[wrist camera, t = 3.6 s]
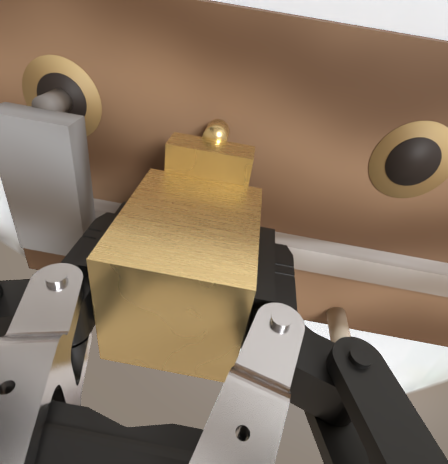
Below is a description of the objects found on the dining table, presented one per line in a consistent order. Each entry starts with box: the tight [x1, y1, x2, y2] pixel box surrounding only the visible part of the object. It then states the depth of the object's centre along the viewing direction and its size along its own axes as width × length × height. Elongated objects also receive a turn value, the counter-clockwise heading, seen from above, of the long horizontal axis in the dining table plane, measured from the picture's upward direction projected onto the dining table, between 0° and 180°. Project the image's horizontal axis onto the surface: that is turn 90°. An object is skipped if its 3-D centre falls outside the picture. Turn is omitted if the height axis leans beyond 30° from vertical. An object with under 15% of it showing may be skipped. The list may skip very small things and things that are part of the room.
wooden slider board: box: [0, 0, 448, 347], centre depth 15 cm, size 14×25×4 cm, turn 82°
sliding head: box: [86, 119, 262, 382], centre depth 12 cm, size 6×4×7 cm, turn 172°
